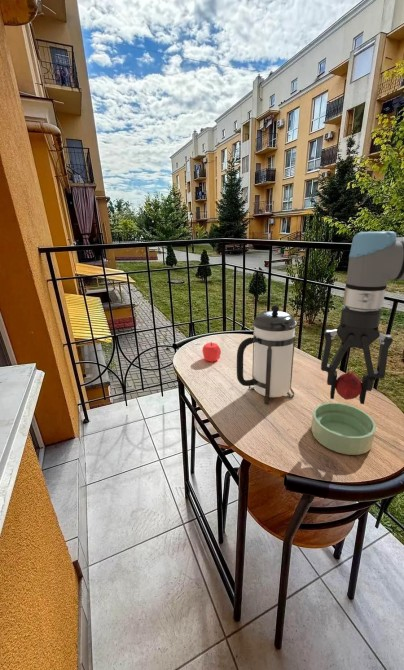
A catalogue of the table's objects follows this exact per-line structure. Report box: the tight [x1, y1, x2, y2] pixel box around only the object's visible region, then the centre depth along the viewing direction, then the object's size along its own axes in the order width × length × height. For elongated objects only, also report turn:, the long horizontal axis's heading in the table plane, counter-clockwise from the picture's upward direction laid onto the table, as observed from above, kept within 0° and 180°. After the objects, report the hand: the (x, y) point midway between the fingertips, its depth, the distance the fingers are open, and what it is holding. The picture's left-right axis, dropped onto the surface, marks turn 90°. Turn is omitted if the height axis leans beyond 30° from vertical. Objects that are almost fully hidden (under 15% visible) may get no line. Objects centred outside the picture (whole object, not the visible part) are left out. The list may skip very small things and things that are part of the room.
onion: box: [335, 369, 362, 401], centre depth 68 cm, size 6×6×8 cm
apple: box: [201, 341, 222, 363], centre depth 118 cm, size 8×8×8 cm
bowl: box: [310, 402, 377, 456], centre depth 72 cm, size 14×14×6 cm
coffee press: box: [236, 304, 298, 405], centre depth 87 cm, size 17×16×30 cm
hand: (346, 398), depth 69 cm, fingers closed on onion, 6 cm apart
